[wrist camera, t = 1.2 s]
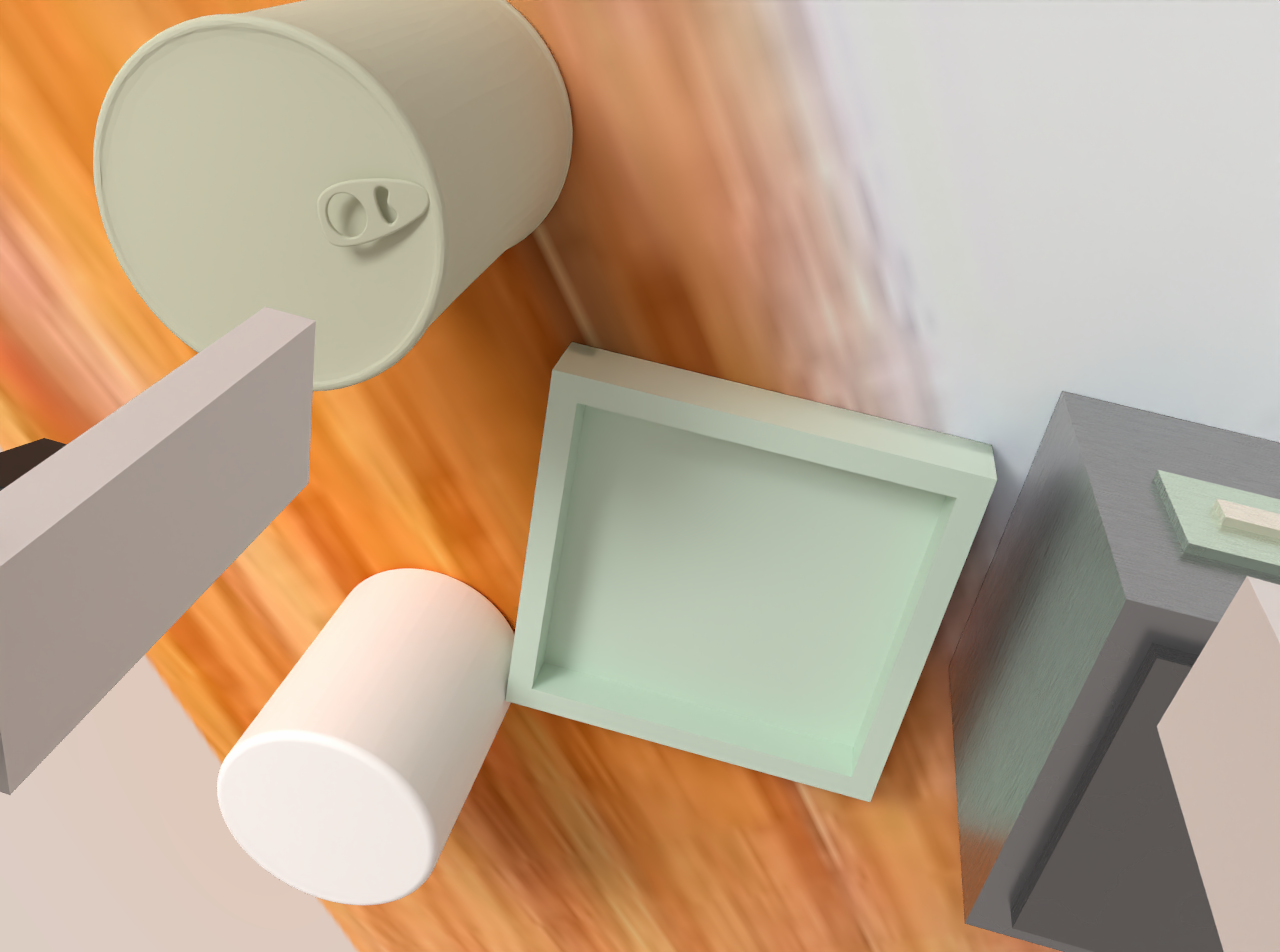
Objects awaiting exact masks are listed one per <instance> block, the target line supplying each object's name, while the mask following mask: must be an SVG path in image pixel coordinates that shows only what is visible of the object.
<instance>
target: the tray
mask: <svg viewBox="0 0 1280 952" xmlns="http://www.w3.org/2000/svg"><path fill="white" fill-rule="evenodd" d="M996 482H997V474H996V468H995V462H994V455H993V449H992V445H990V444H986V443H981V442H977V441H973V440H969V439H965V438H961V437H957V436H953V435H949V434H945V433H941V432H937V431H933V430H929V429H924V428H920V427H916V426H912V425H908V424H904V423H900V422H896V421H892V420H888V419H884V418H880V417H876V416H872V415H867V414H863V413H859V412H855V411H851V410H847V409H843V408H839V407H835V406H831V405H827V404H823V403H819V402H814V401H810V400H806V399H802V398H798V397H794V396H790V395H786V394H782V393H778V392H774V391H770V390H766V389H762V388H757V387H753V386H749V385H745V384H741V383H737V382H733V381H729V380H725V379H721V378H717V377H713V376H709V375H704V374H700V373H696V372H692V371H688V370H684V369H680V368H676V367H672V366H668V365H664V364H660V363H656V362H652V361H647V360H643V359H639V358H635V357H631V356H627V355H623V354H619V353H615V352H611V351H607V350H603V349H599V348H594V347H590V346H586V345H582V344H578V343H574V342H571V343H570V345H569V346H568V348H567V349H566V351H565V352H564V353H563V355H562V356H561V358H560V359H559V361H558V362H557V364H556V365H555V366H554V368H553V369H552V376H551V383H550V390H549V397H548V404H547V411H546V418H545V425H544V432H543V439H542V446H541V453H540V460H539V467H538V474H537V481H536V488H535V495H534V502H533V509H532V516H531V523H530V531H529V538H528V545H527V552H526V559H525V566H524V573H523V580H522V587H521V594H520V601H519V608H518V615H517V622H516V629H515V636H514V643H513V650H512V657H511V664H510V671H509V678H508V685H507V692H506V699H505V701H508V702H511V703H515V704H519V705H522V706H526V707H529V708H533V709H537V710H540V711H544V712H547V713H551V714H555V715H558V716H562V717H565V718H569V719H573V720H576V721H580V722H583V723H587V724H591V725H594V726H598V727H601V728H605V729H608V730H612V731H616V732H619V733H623V734H626V735H630V736H634V737H637V738H641V739H644V740H648V741H652V742H655V743H659V744H662V745H666V746H670V747H673V748H677V749H680V750H684V751H688V752H691V753H695V754H698V755H702V756H706V757H709V758H713V759H716V760H720V761H723V762H727V763H731V764H734V765H738V766H741V767H745V768H749V769H752V770H756V771H759V772H763V773H767V774H770V775H774V776H777V777H781V778H785V779H788V780H792V781H795V782H799V783H803V784H806V785H810V786H813V787H817V788H821V789H824V790H828V791H831V792H835V793H838V794H842V795H846V796H849V797H853V798H856V799H860V800H864V801H867V802H870V801H871V798H872V796H873V793H874V791H875V788H876V786H877V783H878V781H879V778H880V776H881V773H882V771H883V768H884V766H885V763H886V761H887V758H888V755H889V753H890V750H891V748H892V745H893V743H894V740H895V738H896V735H897V733H898V730H899V728H900V725H901V723H902V720H903V718H904V715H905V712H906V710H907V707H908V705H909V702H910V700H911V697H912V695H913V692H914V690H915V687H916V685H917V682H918V680H919V677H920V675H921V672H922V669H923V667H924V664H925V662H926V659H927V657H928V654H929V652H930V649H931V647H932V644H933V642H934V639H935V637H936V634H937V632H938V629H939V626H940V624H941V621H942V619H943V616H944V614H945V611H946V609H947V606H948V604H949V601H950V599H951V596H952V594H953V591H954V589H955V586H956V583H957V581H958V578H959V576H960V573H961V571H962V568H963V566H964V563H965V561H966V558H967V556H968V553H969V551H970V548H971V545H972V543H973V540H974V538H975V535H976V533H977V530H978V528H979V525H980V523H981V520H982V518H983V515H984V513H985V510H986V508H987V505H988V502H989V500H990V497H991V495H992V492H993V490H994V487H995V485H996Z"/></svg>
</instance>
